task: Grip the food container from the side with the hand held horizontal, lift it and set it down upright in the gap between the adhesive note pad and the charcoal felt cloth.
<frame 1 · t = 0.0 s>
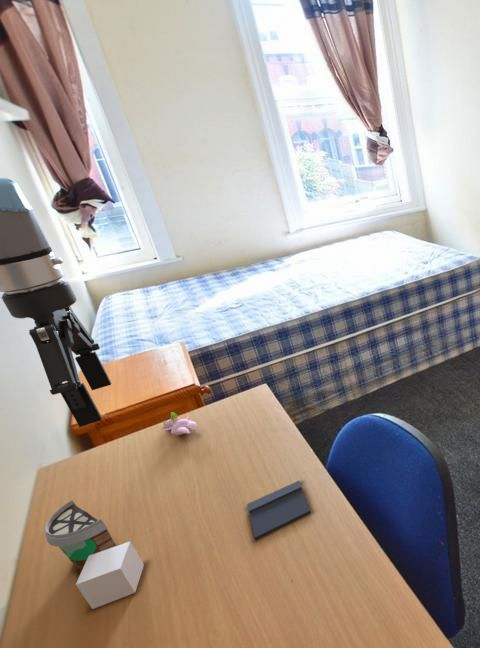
hand: (96, 403, 78), 30 cm above the table, tool pointing down, fingers open, 13 cm apart
rabbit figure: (183, 432, 122), on the table
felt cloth: (279, 510, 93), on the table
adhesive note: (119, 586, 81), on the table
food container: (91, 562, 86), on the table
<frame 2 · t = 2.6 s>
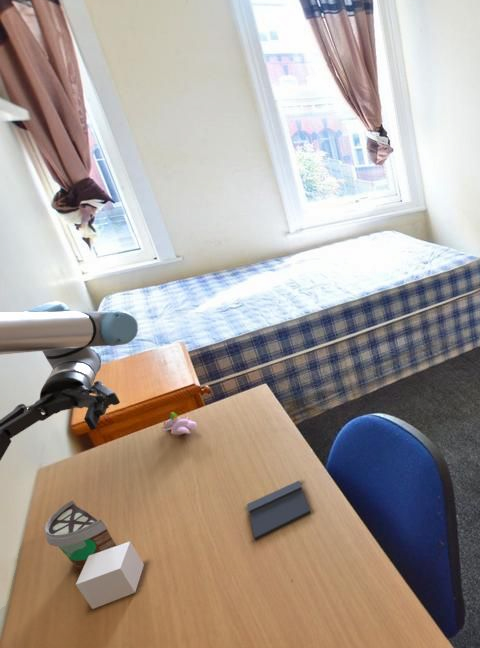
hand: (43, 439, 84), 22 cm above the table, tool horizontal, fingers open, 13 cm apart
nothing on the table moved.
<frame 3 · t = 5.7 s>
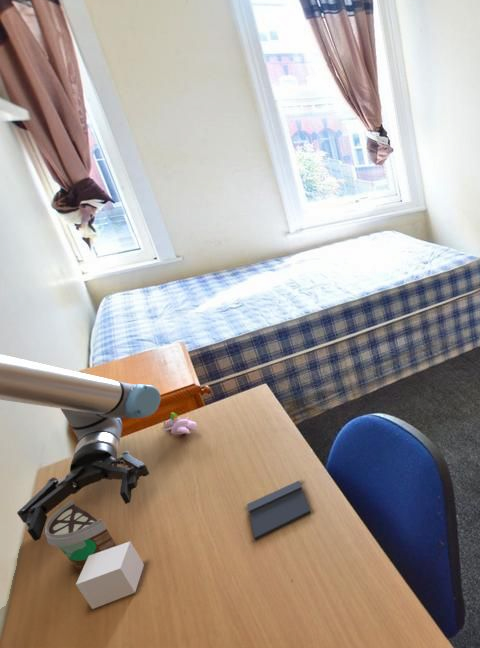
hand: (81, 516, 88), 6 cm above the table, tool horizontal, fingers open, 13 cm apart
nothing on the table moved.
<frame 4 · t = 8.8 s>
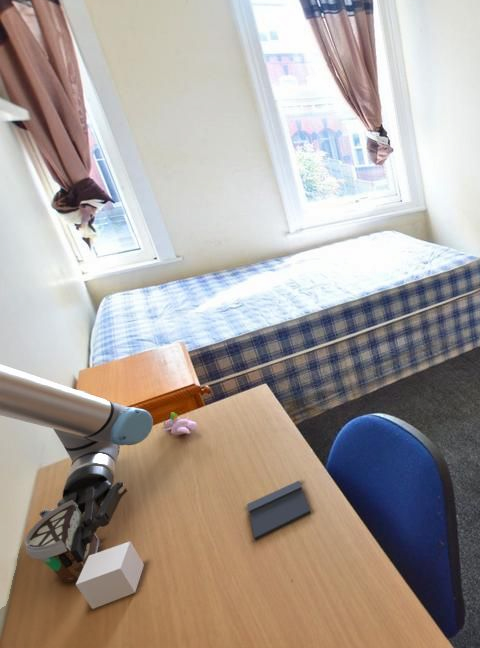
hand: (71, 559, 79), 6 cm above the table, tool horizontal, fingers closed on food container
food container: (76, 567, 85), on the table, touching gripper
everything else where it was.
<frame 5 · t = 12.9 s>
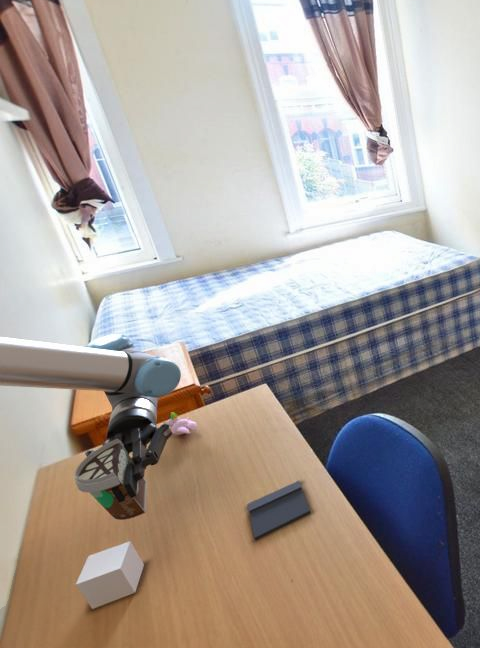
hand: (124, 493, 76), 18 cm above the table, tool horizontal, fingers closed on food container
food container: (125, 507, 82), point 12 cm above the table, touching gripper, hand
everything else where it was.
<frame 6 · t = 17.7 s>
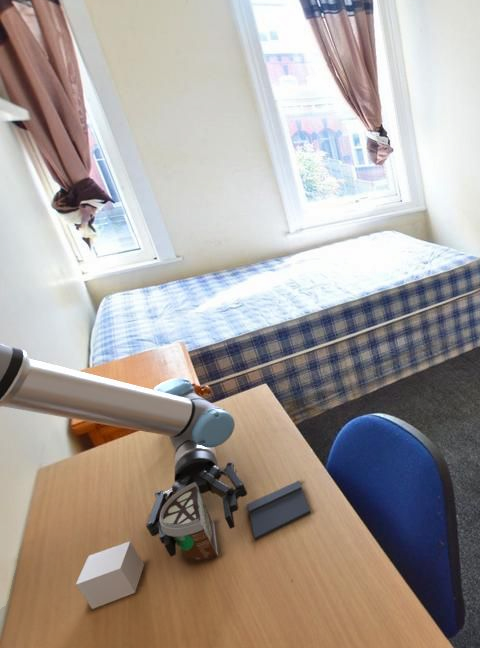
hand: (200, 535, 82), 6 cm above the table, tool horizontal, fingers open, 8 cm apart
food container: (197, 548, 87), on the table
everything else where it was.
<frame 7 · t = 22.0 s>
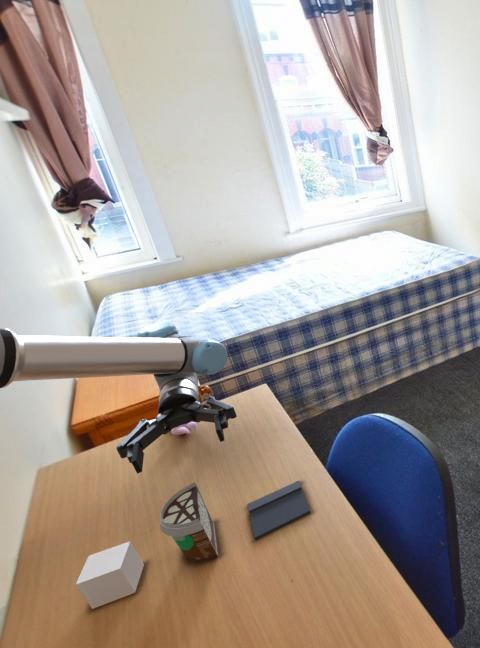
hand: (180, 450, 89), 15 cm above the table, tool horizontal, fingers open, 13 cm apart
nothing on the table moved.
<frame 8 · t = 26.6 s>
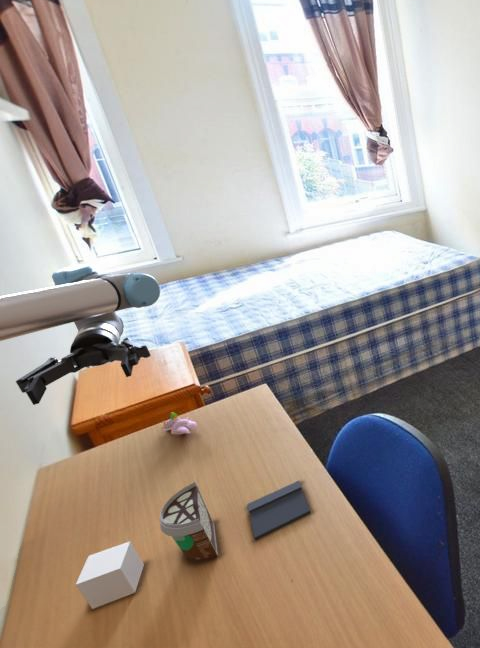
hand: (80, 383, 86), 30 cm above the table, tool horizontal, fingers open, 13 cm apart
nothing on the table moved.
at the end: food container inside the target area (2.3 cm from its centre), on the table; food container tilted 0°; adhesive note moved 0.2 cm from its start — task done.
